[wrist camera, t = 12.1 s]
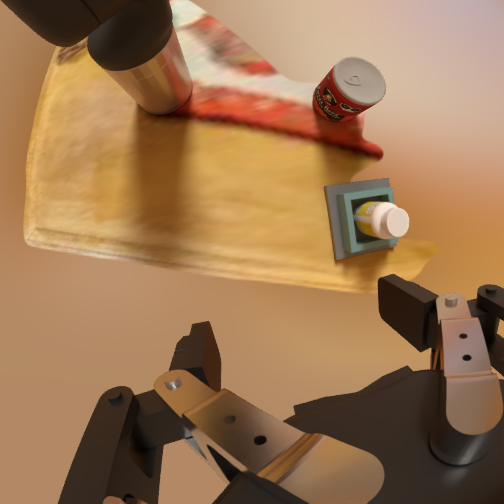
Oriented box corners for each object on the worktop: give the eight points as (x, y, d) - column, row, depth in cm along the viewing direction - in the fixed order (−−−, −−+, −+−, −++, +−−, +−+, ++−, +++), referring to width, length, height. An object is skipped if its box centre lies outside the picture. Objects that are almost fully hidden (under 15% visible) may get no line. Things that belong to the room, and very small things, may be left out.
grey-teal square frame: (323, 186, 42) (332, 185, 38) (385, 178, 42) (397, 177, 38) (334, 258, 44) (343, 264, 40) (393, 244, 45) (405, 248, 41)
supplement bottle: (377, 234, 43) (411, 243, 33) (350, 232, 43) (380, 241, 33) (380, 203, 42) (414, 205, 33) (352, 199, 42) (383, 200, 32)
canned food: (302, 91, 39) (323, 63, 28) (340, 77, 38) (367, 51, 28) (326, 130, 40) (354, 112, 29) (362, 114, 40) (395, 96, 29)
